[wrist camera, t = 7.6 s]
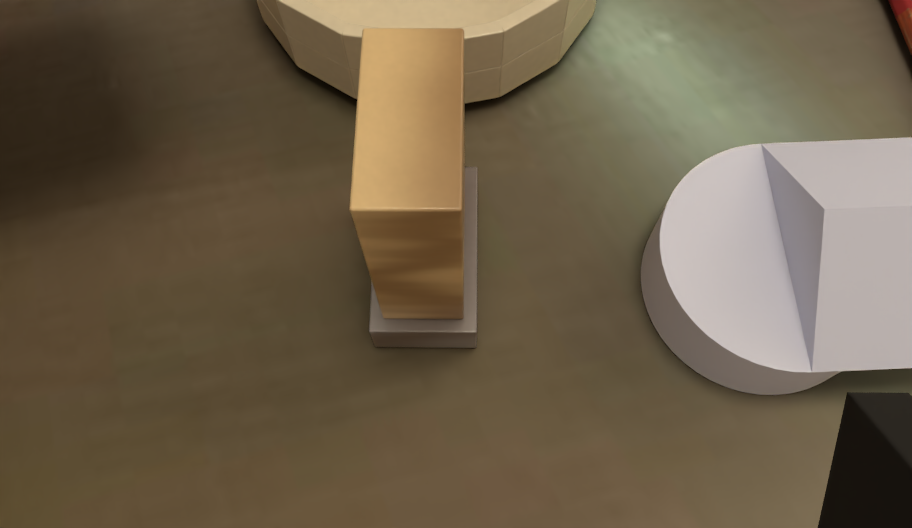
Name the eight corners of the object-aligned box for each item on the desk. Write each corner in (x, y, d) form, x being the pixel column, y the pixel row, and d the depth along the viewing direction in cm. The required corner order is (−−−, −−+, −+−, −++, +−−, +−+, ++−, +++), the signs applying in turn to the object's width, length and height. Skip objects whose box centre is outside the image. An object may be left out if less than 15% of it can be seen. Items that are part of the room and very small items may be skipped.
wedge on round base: (932, 177, 33) (627, 189, 33) (1041, 82, 27) (664, 97, 27) (998, 385, 30) (657, 400, 30) (1140, 331, 23) (708, 350, 23)
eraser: (374, 347, 30) (328, 227, 20) (383, 189, 33) (346, 13, 23) (476, 348, 30) (481, 228, 20) (476, 189, 33) (481, 13, 23)
